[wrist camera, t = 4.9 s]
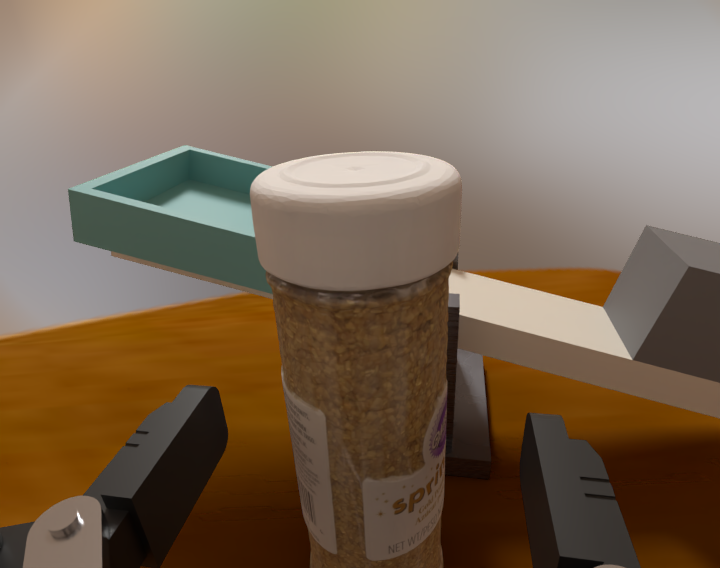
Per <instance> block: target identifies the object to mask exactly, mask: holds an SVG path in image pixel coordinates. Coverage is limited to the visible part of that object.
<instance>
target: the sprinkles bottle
mask: <svg viewBox="0 0 720 568" xmlns="http://www.w3.org/2000/svg"><path fill="white" fill-rule="evenodd" d="M461 198H462V183H461V178H460V175H459V173H458V171H457V170H456V169H455V168H454V167H453V166H452V165H450V164H449V163H447V162H445V161H443V160H440V159H437V158H433V157H429V156H425V155H419V154H412V153H402V152H375V151H374V152H373V151H371V152H349V153H336V154H326V155H319V156H312V157H306V158H302V159H297V160H292V161H289V162H286V163H282V164H279V165H276V166H274V167H271V168H269V169H267V170H265V171H264V172H262V173H261V174H259V175H258V176H257V177H256V178H255V180H254V181H253V182H252V184H251V188H250V200H251V209H252V219H253V226H254V233H255V239H256V246H257V252H258V258H259V261H260V264H261V265H262V267H263V268H264V269H265V270H266V274H265V275H266V280H267V283H268V284H269V285H270V286H271V288H272V292H273V305H274V310H275V316H276V323H277V330H278V338H279V345H280V353H281V358H282V382H283V389H284V395H285V401H286V407H287V414H288V420H289V427H290V434H291V441H292V447H293V454H294V460H295V467H296V474H297V480H298V486H299V493H300V499H301V506H302V512H303V517H304V520H305V523H306V525H307V527H308V533H309V540H310V546H311V553H310V568H443V551H442V547H441V544H440V536H441V532H440V531H441V513H442V508H443V502H444V479H445V449H446V421H447V379H446V363H447V343H448V333H447V332H448V326H447V322H448V301H449V276H450V274H451V270H452V267H453V260H454V259H455V257H456V255H457V253H458V250H459V244H460V227H461Z"/></svg>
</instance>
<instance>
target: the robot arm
mask: <svg viewBox="0 0 720 568" xmlns="http://www.w3.org/2000/svg"><path fill="white" fill-rule="evenodd" d="M227 440H228V429H227V424H226V420H225V416H224V412H223V407H222V403H221V399H220V394H219V391H218V389H217V388H216V387H210V386H197V385H187V386H185V387H184V388H183V389H182V391H181V392H180V393H179V394H178V396H177V397H176V398H175V400H174V401H173V402H172V403H167V402H166V403H165V404H164V405H162V406H161V407H159V408H158V409H157V410H155V411H154V412H152V413H151V414H150V415H148V416H147V418H146V419H145V420H144V421H143V423H142V424H141V425H140V426H139V427H138V429H137V430H136V433H135V434H133V435H132V436H131V437H130V438H129V440H128V441H127V442H126V446H123V447H122V448H121V449H120V451H119V452H118V453H117V454H116V456H115V457H114V458H113V459H112V460H111V462H110V463H109V464H108V465H107V467H106V468H105V469H104V470H103V471H102V473H101V474H100V475H99V476H98V478H97V479H96V480H95V481H94V482H93V484H92V485H91V486H90V487H89V489H88V490H87V491H86V492H85V493H84V494H83V496H76V497H72V498H69V499H66V500H63V501H61V502H59V503H57V504H55V505H54V506H52V507H51V508H49V509H48V510H47V511H45V512H44V513H43V514H42V515H41V516H40V517H39V518H38V519H37V520H36V521H35V522H30V523H25V524H19V525H13V526H7V527H2V528H0V568H140V566H145V567H152V568H159V567H160V566H161V564H162V562H163V560H164V559H165V557H166V555H167V553H168V551H169V550H170V548H171V546H172V544H173V542H174V541H175V539H176V537H177V535H178V534H179V532H180V530H181V528H182V526H183V525H184V523H185V521H186V519H187V517H188V516H189V514H190V512H191V510H192V509H193V507H194V505H195V503H196V501H197V500H198V498H199V496H200V494H201V492H202V491H203V489H204V487H205V485H206V484H207V482H208V480H209V478H210V476H211V475H212V473H213V471H214V469H215V467H216V466H217V464H218V462H219V460H220V459H221V457H222V455H223V453H224V451H225V448H226V445H227ZM520 482H521V490H522V497H523V503H524V510H525V517H526V523H527V530H528V536H529V543H530V549H531V556H532V563H533V568H641V567H640V564H639V562H638V559H637V556H636V553H635V550H634V548H633V545H632V542H631V539H630V536H629V533H628V531H627V528H626V525H625V522H624V519H623V517H622V514H621V511H620V508H619V505H618V503H617V501H616V500H615V494H614V491H613V489H612V486H611V483H609V477H608V475H607V472H606V469H605V466H604V463H603V460H602V458H601V457H600V456H599V455H598V454H597V453H596V451H595V450H594V449H593V448H592V447H591V446H590V444H589V443H588V442H587V441H586V440H576V439H569V438H568V435H567V431H566V428H565V424H564V421H563V418H562V417H561V416H560V415H549V414H537V413H528V414H527V417H526V423H525V430H524V437H523V444H522V451H521V458H520Z"/></svg>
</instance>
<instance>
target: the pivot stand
mask: <svg viewBox="0 0 720 568" xmlns="http://www.w3.org/2000/svg"><path fill="white" fill-rule="evenodd" d="M452 269H455V270H458V253H457V255H456V257H455V259H454V260H453V267H452ZM459 312H460V294H453V293H449V301H448V322H447V326H448V332H447V333H448V343H447V363H446V379H447V421H446V449H445V475H453V476H462V477H471V478H480V479H489V478H490V469H491V452H490V440H489V429H488V417H487V405H486V393H485V382H484V370H483V358H482V355H481V354H477V353H473V352H470V351H466V350H462V349H458V331H459Z"/></svg>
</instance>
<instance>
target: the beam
mask: <svg viewBox="0 0 720 568" xmlns="http://www.w3.org/2000/svg"><path fill="white" fill-rule="evenodd" d="M271 167H272V166H268V165H263V164H259V163H255V162H251V161H247V160H243V159H239V158H235V157H231V156H227V155H223V154H219V153H215V152H211V151H207V150H203V149H199V148H194V147H190V146H187V145H184V146H181V147H179V148H176V149H173V150H171V151H168V152H166V153H163V154H160V155H157V156H155V157H152V158H149V159H147V160H144V161H141V162H139V163H136V164H134V165H131V166H128V167H125V168H123V169H120V170H117V171H115V172H112V173H109V174H107V175H104V176H101V177H99V178H96V179H93V180H91V181H88V182H85V183H83V184H80V185H78V186H75V187H72V188H69V189H68V192H69V202H70V211H71V220H72V229H73V237H74V241H75V242H79V243H83V244H86V245H90V246H94V247H98V248H102V249H105V250H109V251H111V255H112V256H114V257H118V258H122V259H125V260H129V261H133V262H137V263H140V264H144V265H148V266H151V267H155V268H159V269H163V270H167V271H171V272H174V273H178V274H181V275H185V276H189V277H193V278H196V279H200V280H204V281H208V282H212V283H215V284H219V285H223V286H226V287H230V288H234V289H238V290H241V291H245V292H249V293H253V294H256V295H260V296H264V297H268V298H271V299H273V292H272V288H271V286H270V285H269V284H268V283H267V280H266V275H265V274H266V270H265V269H264V268H263V267H262V265H261V264H260V261H259V258H258V252H257V246H256V239H255V233H254V226H253V219H252V209H251V200H250V188H251V184H252V182H253V181H254V180H255V178H256V177H257V176H258V175H259V174H261V173H262V172H264V171H265V170H267V169H269V168H271ZM449 293H453V294H460V312H459V331H458V349H462V350H466V351H470V352H473V353H477V354H481V355H485V356H488V357H492V358H496V359H500V360H503V361H507V362H511V363H515V364H518V365H522V366H526V367H530V368H533V369H537V370H541V371H545V372H548V373H552V374H556V375H560V376H563V377H567V378H571V379H575V380H578V381H582V382H586V383H590V384H593V385H597V386H601V387H604V388H608V389H612V390H616V391H619V392H623V393H627V394H631V395H634V396H638V397H642V398H646V399H649V400H653V401H657V402H661V403H664V404H668V405H672V406H676V407H679V408H683V409H687V410H691V411H694V412H698V413H702V414H706V415H709V416H713V417H717V418H720V243H717V242H713V241H709V240H705V239H701V238H697V237H692V236H688V235H684V234H680V233H676V232H672V231H668V230H664V229H659V228H655V227H651V226H646V227H645V228H644V230H643V233H642V234H641V236H640V238H639V240H638V242H637V244H636V246H635V247H634V249H633V251H632V253H631V255H630V257H629V259H628V261H627V263H626V265H625V266H624V268H623V270H622V272H621V274H620V276H619V278H618V280H617V282H616V284H615V285H614V287H613V289H612V291H611V293H610V295H609V297H608V299H607V301H606V303H605V304H604V306H603V307H600V306H596V305H592V304H588V303H584V302H581V301H577V300H573V299H569V298H565V297H561V296H557V295H553V294H549V293H545V292H541V291H538V290H534V289H530V288H526V287H522V286H518V285H514V284H510V283H506V282H502V281H498V280H495V279H491V278H487V277H483V276H479V275H475V274H471V273H467V272H463V271H459V270H455V269H452V270H451V274H450V276H449Z"/></svg>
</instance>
